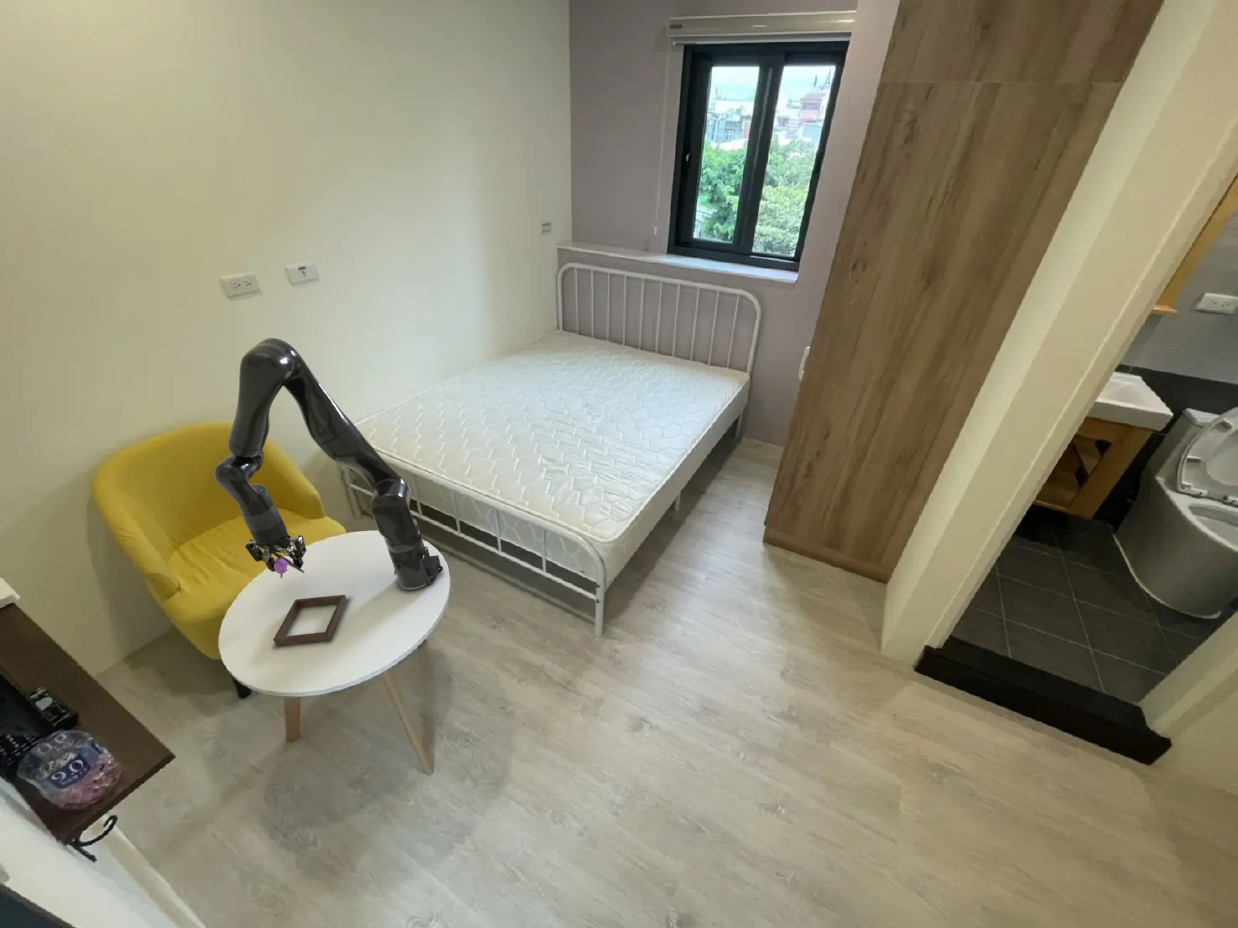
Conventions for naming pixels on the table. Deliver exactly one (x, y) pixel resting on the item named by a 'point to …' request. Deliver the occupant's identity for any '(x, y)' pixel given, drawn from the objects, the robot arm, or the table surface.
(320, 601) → the brown square frame
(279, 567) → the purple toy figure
